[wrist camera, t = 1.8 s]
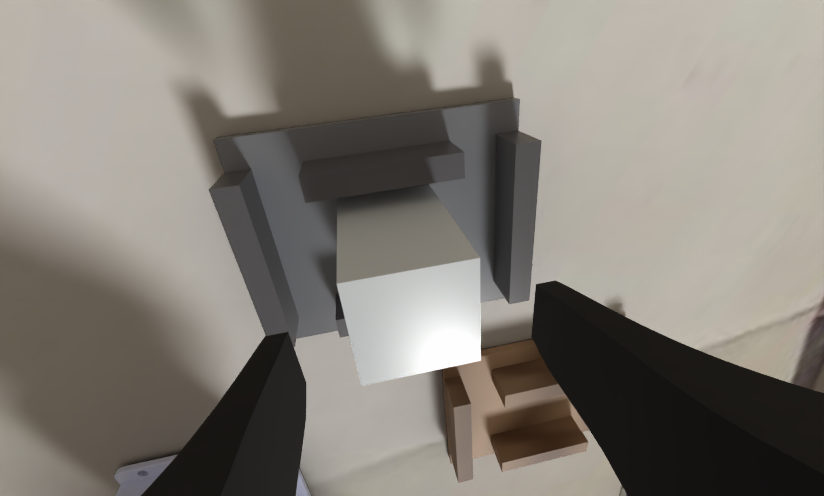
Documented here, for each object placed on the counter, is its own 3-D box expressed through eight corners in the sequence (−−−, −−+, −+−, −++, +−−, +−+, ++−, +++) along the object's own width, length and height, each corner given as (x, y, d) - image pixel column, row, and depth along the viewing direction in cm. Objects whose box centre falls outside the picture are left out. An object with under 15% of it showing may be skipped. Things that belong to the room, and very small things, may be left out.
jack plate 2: (449, 456, 26) (459, 493, 24) (441, 358, 22) (452, 392, 19) (600, 420, 28) (623, 451, 26) (625, 319, 23) (656, 347, 21)
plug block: (353, 277, 17) (361, 386, 12) (337, 198, 15) (336, 283, 10) (435, 262, 18) (480, 360, 12) (429, 184, 16) (480, 258, 10)
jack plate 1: (286, 334, 19) (279, 370, 17) (217, 137, 14) (194, 152, 12) (507, 291, 20) (527, 320, 18) (514, 98, 15) (543, 105, 13)
